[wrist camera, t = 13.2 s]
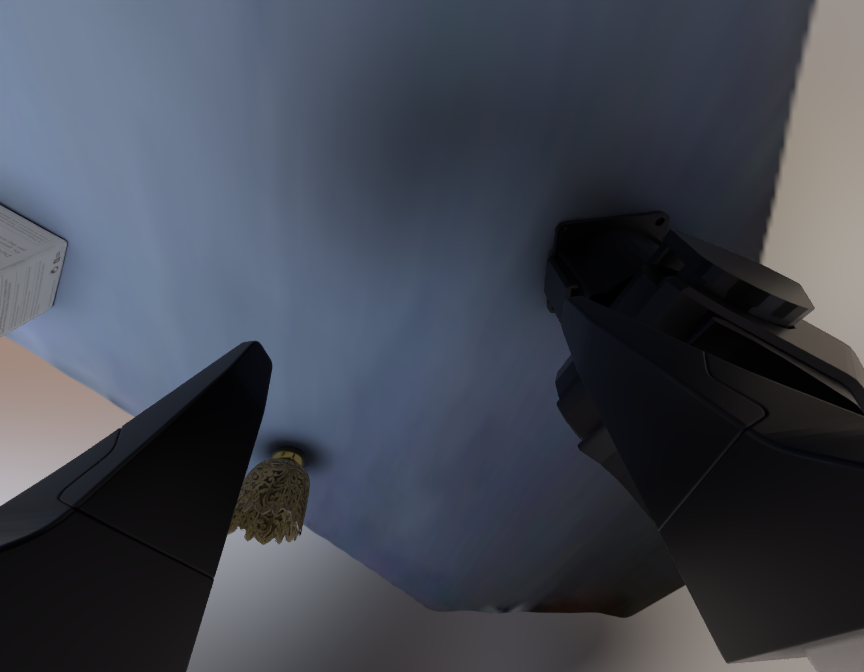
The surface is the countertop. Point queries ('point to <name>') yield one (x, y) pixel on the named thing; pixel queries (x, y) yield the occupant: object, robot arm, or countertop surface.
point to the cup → (273, 498)
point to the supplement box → (26, 270)
